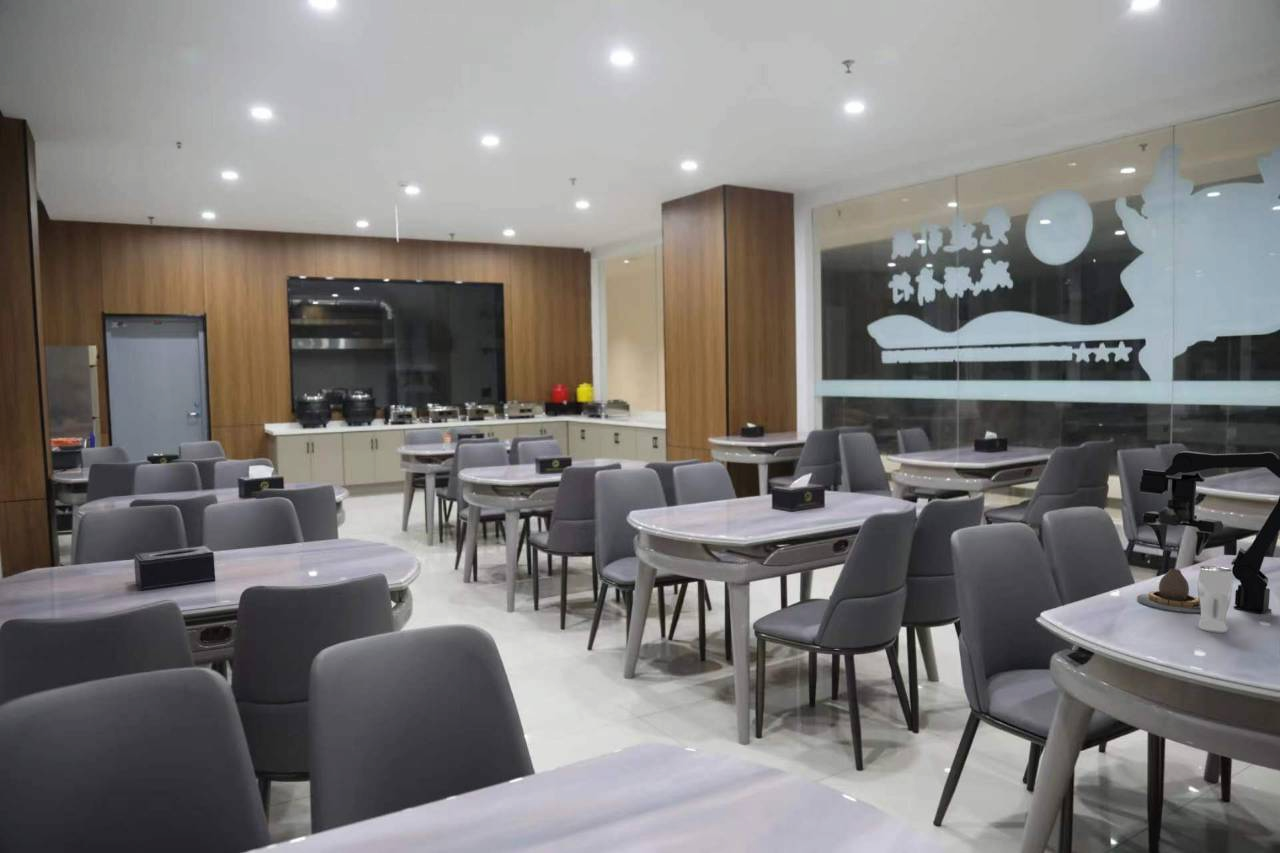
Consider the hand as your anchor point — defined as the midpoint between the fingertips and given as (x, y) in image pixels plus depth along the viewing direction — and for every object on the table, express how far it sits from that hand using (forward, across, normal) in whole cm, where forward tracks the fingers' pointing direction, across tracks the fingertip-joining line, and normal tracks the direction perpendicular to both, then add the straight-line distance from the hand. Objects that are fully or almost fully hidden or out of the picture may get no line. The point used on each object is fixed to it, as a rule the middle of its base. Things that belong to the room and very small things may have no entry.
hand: (1179, 552), depth 237 cm
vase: (+12, +3, -8) cm, 15 cm away
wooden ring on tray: (+13, +3, -8) cm, 16 cm away
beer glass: (+13, +20, -24) cm, 34 cm away
